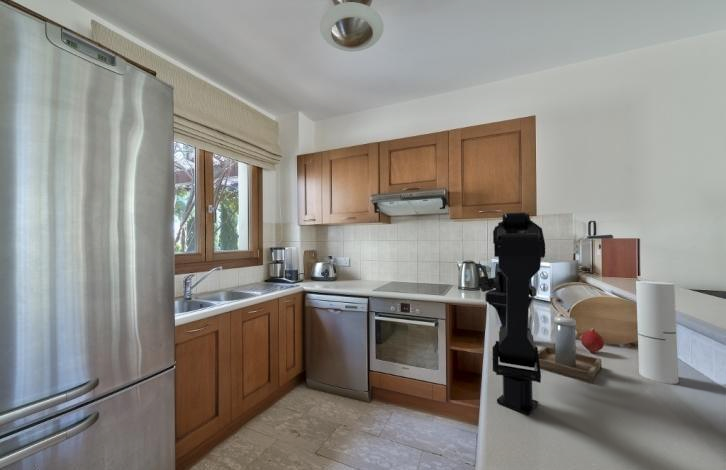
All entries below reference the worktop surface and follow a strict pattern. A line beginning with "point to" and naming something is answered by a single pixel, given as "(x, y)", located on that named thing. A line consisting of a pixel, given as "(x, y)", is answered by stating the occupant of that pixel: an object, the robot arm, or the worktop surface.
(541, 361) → the walnut tray
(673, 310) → the cylindrical container
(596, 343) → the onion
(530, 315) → the beer glass
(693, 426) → the worktop surface
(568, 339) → the cylinder
